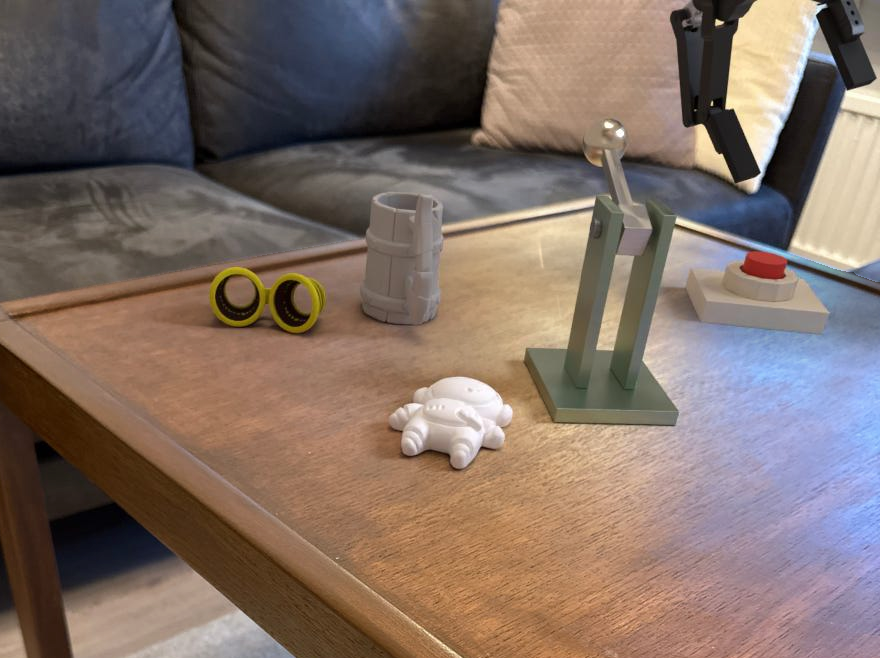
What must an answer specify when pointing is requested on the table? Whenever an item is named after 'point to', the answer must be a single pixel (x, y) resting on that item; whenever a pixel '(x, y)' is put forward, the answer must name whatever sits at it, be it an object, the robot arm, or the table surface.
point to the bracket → (620, 370)
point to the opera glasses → (267, 300)
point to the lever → (618, 182)
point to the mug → (403, 258)
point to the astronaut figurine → (453, 419)
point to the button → (764, 265)
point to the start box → (755, 300)
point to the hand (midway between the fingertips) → (801, 135)
